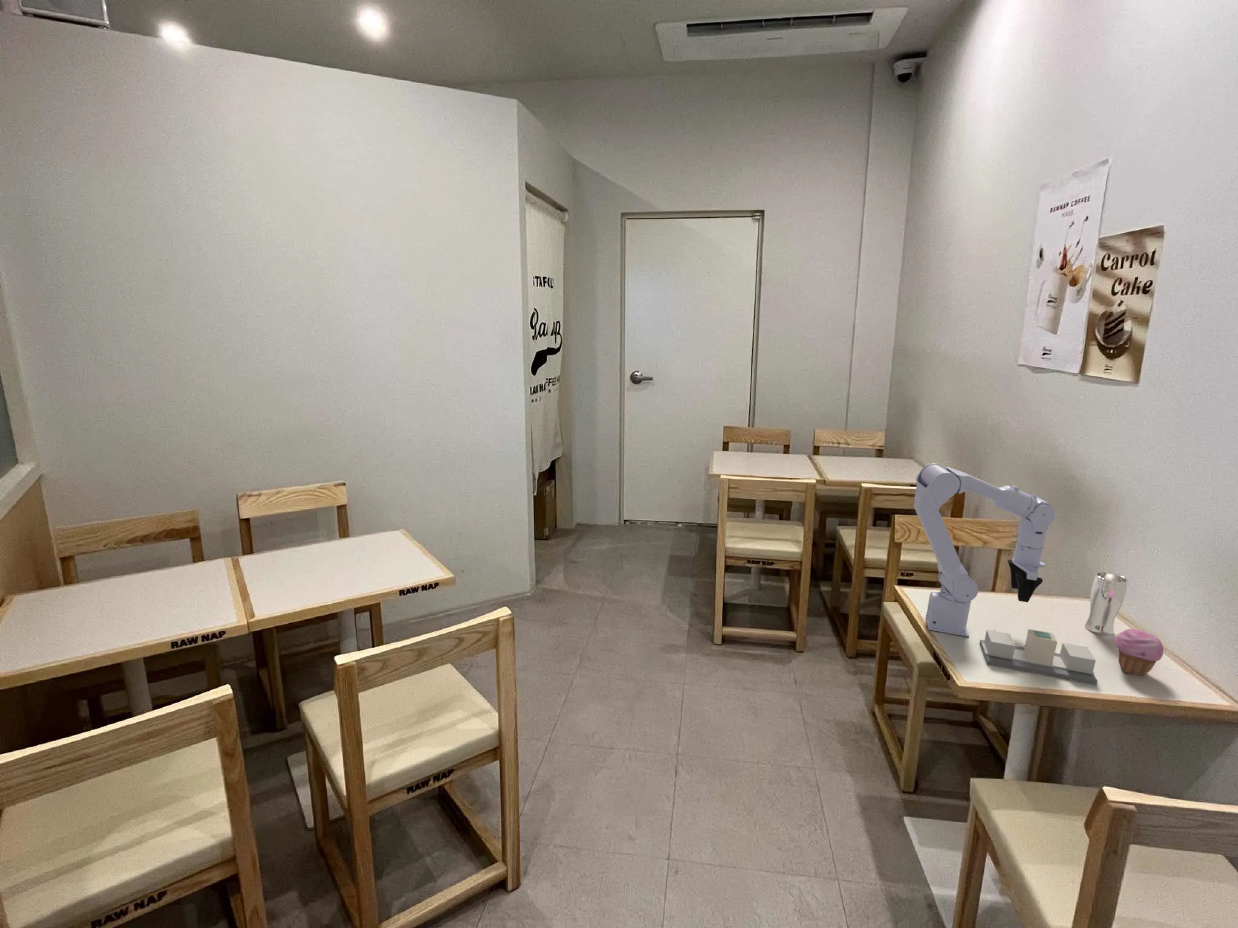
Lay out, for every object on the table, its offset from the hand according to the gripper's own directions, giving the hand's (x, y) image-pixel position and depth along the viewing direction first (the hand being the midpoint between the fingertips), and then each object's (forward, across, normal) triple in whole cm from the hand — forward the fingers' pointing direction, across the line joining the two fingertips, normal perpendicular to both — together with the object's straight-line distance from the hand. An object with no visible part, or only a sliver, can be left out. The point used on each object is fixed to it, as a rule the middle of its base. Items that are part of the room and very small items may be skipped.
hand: (1019, 594), depth 165 cm
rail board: (+10, -15, -2) cm, 18 cm away
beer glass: (+11, +10, -22) cm, 26 cm away
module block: (+9, -15, -2) cm, 18 cm away
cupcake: (+11, -10, -23) cm, 27 cm away
